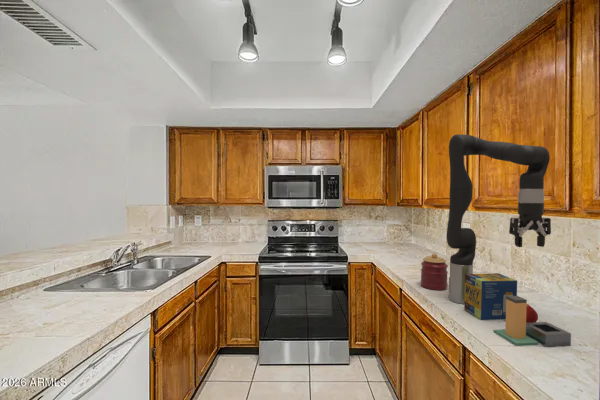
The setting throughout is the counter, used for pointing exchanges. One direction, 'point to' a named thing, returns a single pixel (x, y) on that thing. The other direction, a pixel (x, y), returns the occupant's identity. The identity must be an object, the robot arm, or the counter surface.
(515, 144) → the robot arm
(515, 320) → the plug
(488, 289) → the protein box
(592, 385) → the counter surface
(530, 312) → the red onion
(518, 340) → the mat
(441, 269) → the canister
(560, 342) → the gray square frame
